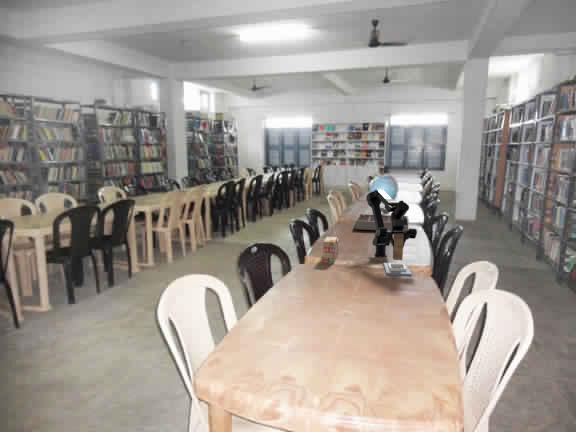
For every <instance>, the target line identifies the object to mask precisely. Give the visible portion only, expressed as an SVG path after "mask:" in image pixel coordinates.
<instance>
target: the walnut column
mask: <svg viewBox="0 0 576 432" xmlns="http://www.w3.org/2000/svg"><path fill="white" fill-rule="evenodd" d="M403 240H404V235H403V233H394V235H393V241H394V247H393V246H392V261H403V258H404V257H403V255H404V248H403Z"/></svg>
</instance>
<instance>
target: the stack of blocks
mask: <svg viewBox="0 0 576 432" xmlns="http://www.w3.org/2000/svg"><path fill="white" fill-rule="evenodd" d="M339 245H340V244H339V238H338V237H337V236H325V239H324V241H323V248H322V249H323V259H322V263H324V264H335V263H336V261H337V258H336V257H338V256H337V255H339Z"/></svg>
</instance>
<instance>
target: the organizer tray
mask: <svg viewBox="0 0 576 432" xmlns="http://www.w3.org/2000/svg"><path fill="white" fill-rule="evenodd" d="M390 216H391V214H390V215H388V214H382V218H383V223H384V227H385V228H387V230H392V228H391V219H390ZM402 219H407V220H408V224H407V225H404V229H403V231H408V229H409V224H410V219H409V216H408V215H404V216H403V217H402ZM354 222H355V230H364V231H365V230H366V231H367V230H368V231H376V226H375V221H374V216H373V214H367V213H366V214H363V213H362V214H361V212H359V213H358V214H357V216H356V218H355V220H354Z"/></svg>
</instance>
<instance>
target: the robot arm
mask: <svg viewBox="0 0 576 432" xmlns="http://www.w3.org/2000/svg"><path fill="white" fill-rule="evenodd" d="M365 198H366V199H365V200H366V201H367V204H368V206H369V207H370V208H371V210H372V215H373V216H374V221H375V226H376V230H375V233H374V238H373V239H372V241H371V242H372V246H374V247H375V252H374V257H376V258H377V257H379V258H380V257H381V258H387V257H388V256H387V253H386V252H387V251H386V250H387V249H386V248H387V247H389V246H390V245H391V246H392V248H393V247H394V241H393V237H394V233H403V235H404V240H403V249H404V247H405V244H406V241H407V240H409V239H416V237H417V234H418V230H417V228H409V227H408V231H403V229H404V225H407V224H408V220H407V219H402V217H403V216H406V214H407V212H408V211H409V210H410V206H409V204H408V203H406V202H404V200H399V201H398V200H396V199H393V198H391V197H390V196H389V195H388V193H386V192H385V190H384V189H383V188H380V189H374V190H373V191H371V192H369V193H368V194H367V195H365ZM382 203H383V205H384V209H385V211H386V212H387V213H390V215H391V216H390V219H391V228H392V230H387V228H385V227H384V223H383V218H382V215H383V214H382V209H381V206H380V205H381V204H382ZM408 225H409V224H408Z"/></svg>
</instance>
